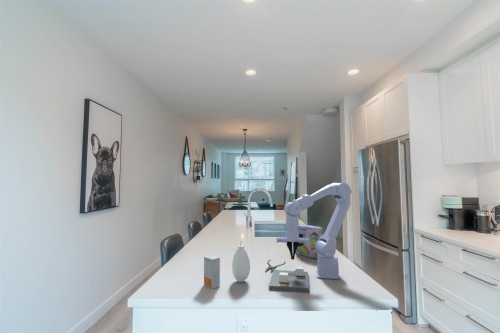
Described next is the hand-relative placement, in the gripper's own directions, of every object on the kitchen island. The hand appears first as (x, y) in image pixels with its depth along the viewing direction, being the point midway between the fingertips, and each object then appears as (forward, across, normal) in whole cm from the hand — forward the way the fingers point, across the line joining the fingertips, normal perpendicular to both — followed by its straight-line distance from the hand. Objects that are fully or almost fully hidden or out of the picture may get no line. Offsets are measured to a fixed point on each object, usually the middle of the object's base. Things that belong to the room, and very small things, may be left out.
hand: (292, 258), depth 117 cm
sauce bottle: (+9, -22, -8) cm, 25 cm away
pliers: (+9, -9, +14) cm, 19 cm away
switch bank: (+8, -1, -5) cm, 10 cm away
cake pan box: (+9, +8, +36) cm, 38 cm away
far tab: (+7, +3, -1) cm, 7 cm away
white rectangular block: (+7, -4, -9) cm, 12 cm away
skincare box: (+9, -33, -15) cm, 38 cm away
